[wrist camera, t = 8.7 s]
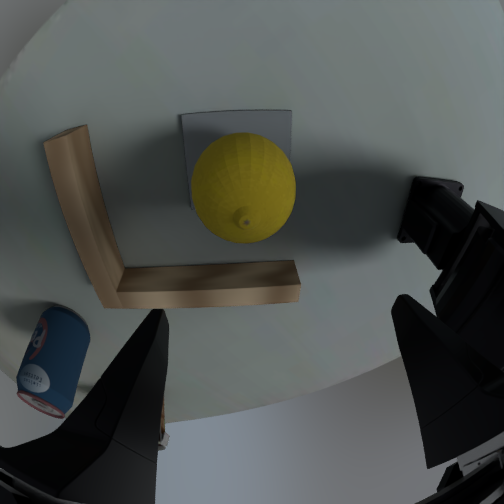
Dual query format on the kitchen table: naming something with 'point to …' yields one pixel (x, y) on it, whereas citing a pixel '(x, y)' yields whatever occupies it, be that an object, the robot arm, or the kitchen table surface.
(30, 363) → the soda can
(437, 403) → the robot arm
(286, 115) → the mat
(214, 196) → the lemon
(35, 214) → the kitchen table surface
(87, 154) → the l-shaped wooden corner
